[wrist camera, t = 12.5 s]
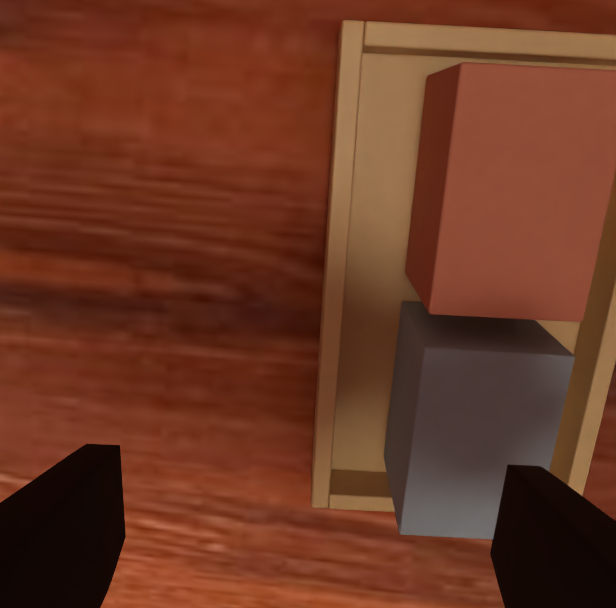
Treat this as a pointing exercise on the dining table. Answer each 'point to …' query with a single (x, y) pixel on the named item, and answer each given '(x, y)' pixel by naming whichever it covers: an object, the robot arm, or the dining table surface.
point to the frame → (394, 245)
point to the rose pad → (512, 189)
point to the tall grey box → (468, 416)
